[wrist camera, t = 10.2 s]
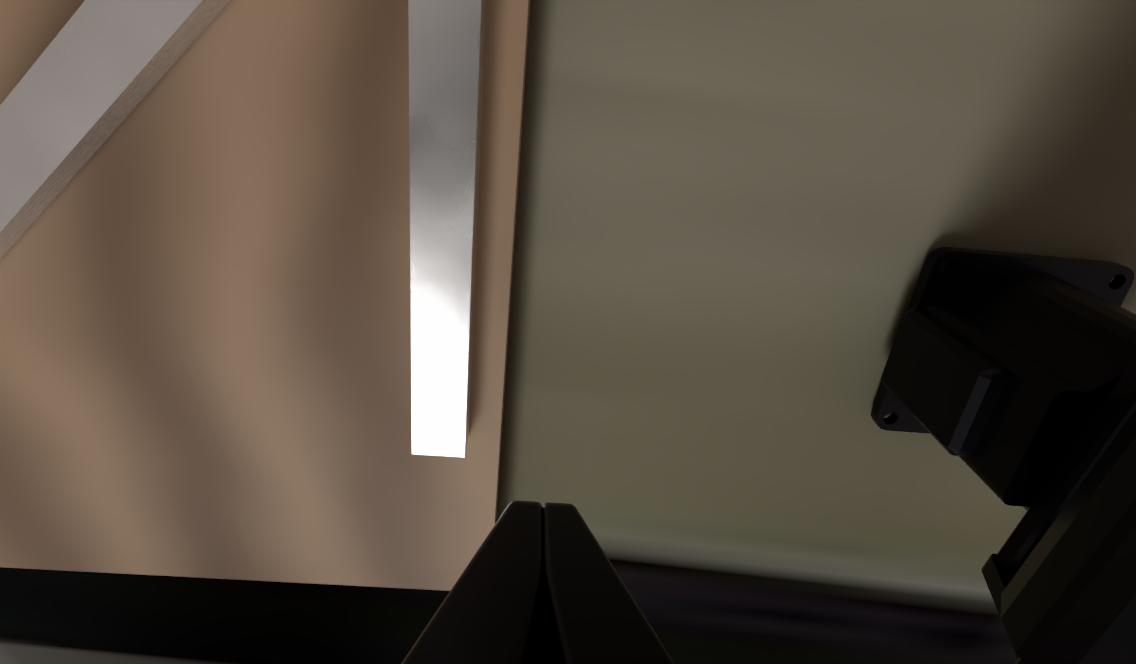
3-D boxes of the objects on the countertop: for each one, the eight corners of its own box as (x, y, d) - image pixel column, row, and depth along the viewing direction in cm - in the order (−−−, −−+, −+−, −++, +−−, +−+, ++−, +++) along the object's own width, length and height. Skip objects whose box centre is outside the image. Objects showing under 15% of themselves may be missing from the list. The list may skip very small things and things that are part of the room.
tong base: (530, -445, 12) (527, -522, 10) (484, 435, 20) (479, 470, 19) (258, -489, 11) (209, -575, 10) (327, 425, 20) (308, 459, 18)
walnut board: (561, -460, 13) (561, -518, 11) (493, 562, 25) (490, 592, 23) (-528, -637, 11) (-672, -726, 10) (-44, 532, 23) (-81, 563, 22)
